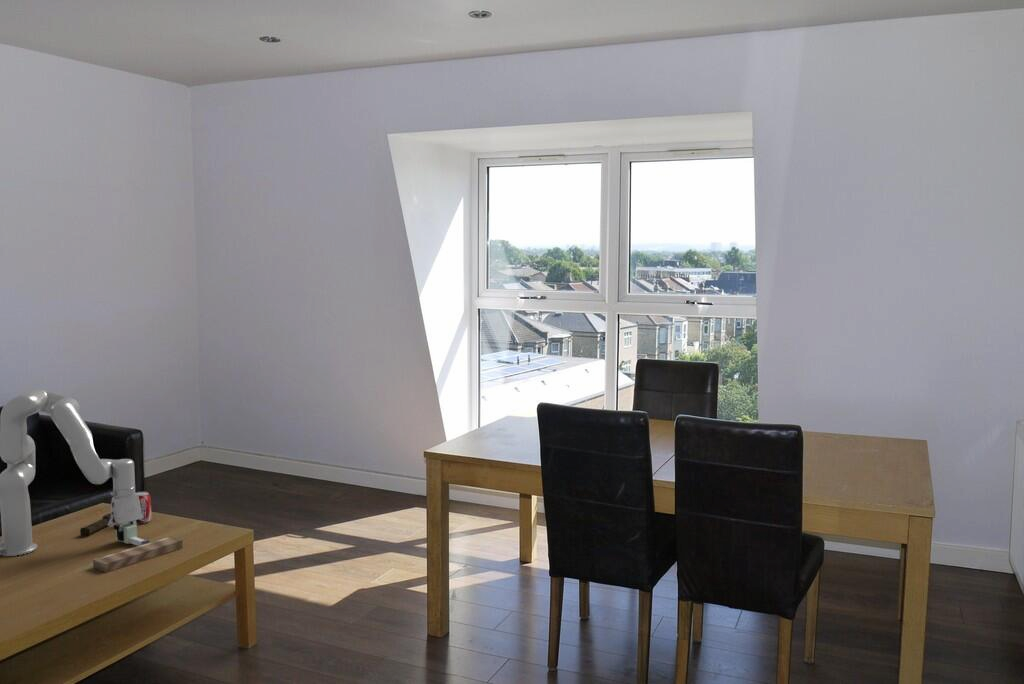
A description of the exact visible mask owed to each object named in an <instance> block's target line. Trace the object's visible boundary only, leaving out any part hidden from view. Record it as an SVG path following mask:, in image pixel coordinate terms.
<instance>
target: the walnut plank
mask: <svg viewBox="0 0 1024 684" xmlns="http://www.w3.org/2000/svg"><path fill="white" fill-rule="evenodd" d="M183 542H184V541H183V540H182V539H180V538H176V537H173V536H172V535H171V536H170V535H169V536H166V537H163V538H159V539H156V540H154V541H153V540H152V541H149V543H146V544H142V545H139V546H137V545H135V546H132V547H129V548H126V549H122V550H119V551H115V552H113V553H110V554H106V555H103V556H99V557H95V558H93V559H92V564H93V565H92V566H93V567H94V568H93V569H96V568H97V569H96V570H98V569H99V570H98V571H101V570H102V571H101V572H103V571H104V573H109V572H112V571H115V570H118V569H117V568H119V569H121V567H122V568H125V567H127V565H128V566H130V564H131V565H134V564H137V563H140V562H139V561H141V562H143V560H144V561H147V560H150V559H153V558H156V557H159V555H160V556H162V554H163V555H166V554H168V553H167V552H169V553H171V551H172V552H175V551H178V550H181V549H180V548H182V549H184V545H183ZM177 549H178V550H177ZM174 550H175V551H174ZM165 553H166V554H165ZM155 556H156V557H155ZM152 557H153V558H152ZM149 558H150V559H149ZM146 559H147V560H146ZM136 562H137V563H136ZM133 563H134V564H133ZM124 566H125V567H124ZM111 570H112V571H111ZM108 571H109V572H108Z"/></svg>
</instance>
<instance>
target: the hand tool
mask: <svg viewBox="0 0 1024 684" xmlns="http://www.w3.org/2000/svg"><path fill="white" fill-rule="evenodd" d="M110 519H111V512H110V513H106V514H103V516H102V518H101V519H99V520H97V521H95V522H93V523H91V524H88V525H87V526H85V527H84V526H83V527H80V530H79V533H80V536H81V537H83V536H88V537H89V536H92V534H94V533H95V532H98V531H99V530H101V529H103V528H105V527H109V526H108V522H109V521H110Z"/></svg>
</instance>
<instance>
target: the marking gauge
mask: <svg viewBox="0 0 1024 684" xmlns="http://www.w3.org/2000/svg"><path fill="white" fill-rule="evenodd" d="M114 525H116V523H115V524H114ZM122 531H123V533H124V541H119V540H118V539H117V530H115V540H116V541H118V542H121V543H124V544H126V545H127V544H128V545H129V544H132V545H135V546H139V545H142V544H146V543H149V542H150V540H149V539H143V538H141V537H138V525H137V526H136V525H133V524H130V522H127V523H124V524H123V527H122Z"/></svg>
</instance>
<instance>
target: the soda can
mask: <svg viewBox="0 0 1024 684" xmlns="http://www.w3.org/2000/svg"><path fill="white" fill-rule="evenodd" d="M136 493H137V494H138V497H139V501H140V507H141V513H142V514H143V516H144V517H143V518H142V519H141V520H140V521H139V523H145V522H148V521H149V522H150V521H151V520H152V501H151V500H152V499H151V495H150V493H149V492H148V491H138V492H136ZM149 522H148V523H149ZM145 524H146V523H145Z"/></svg>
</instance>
